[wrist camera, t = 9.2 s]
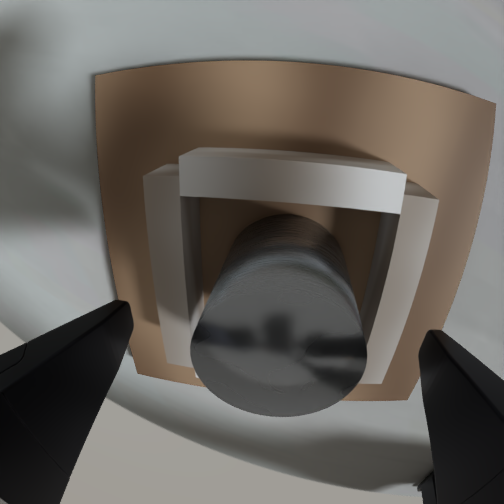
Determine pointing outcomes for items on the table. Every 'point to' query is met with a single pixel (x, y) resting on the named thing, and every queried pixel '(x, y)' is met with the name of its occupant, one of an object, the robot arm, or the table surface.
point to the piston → (281, 322)
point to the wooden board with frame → (289, 194)
